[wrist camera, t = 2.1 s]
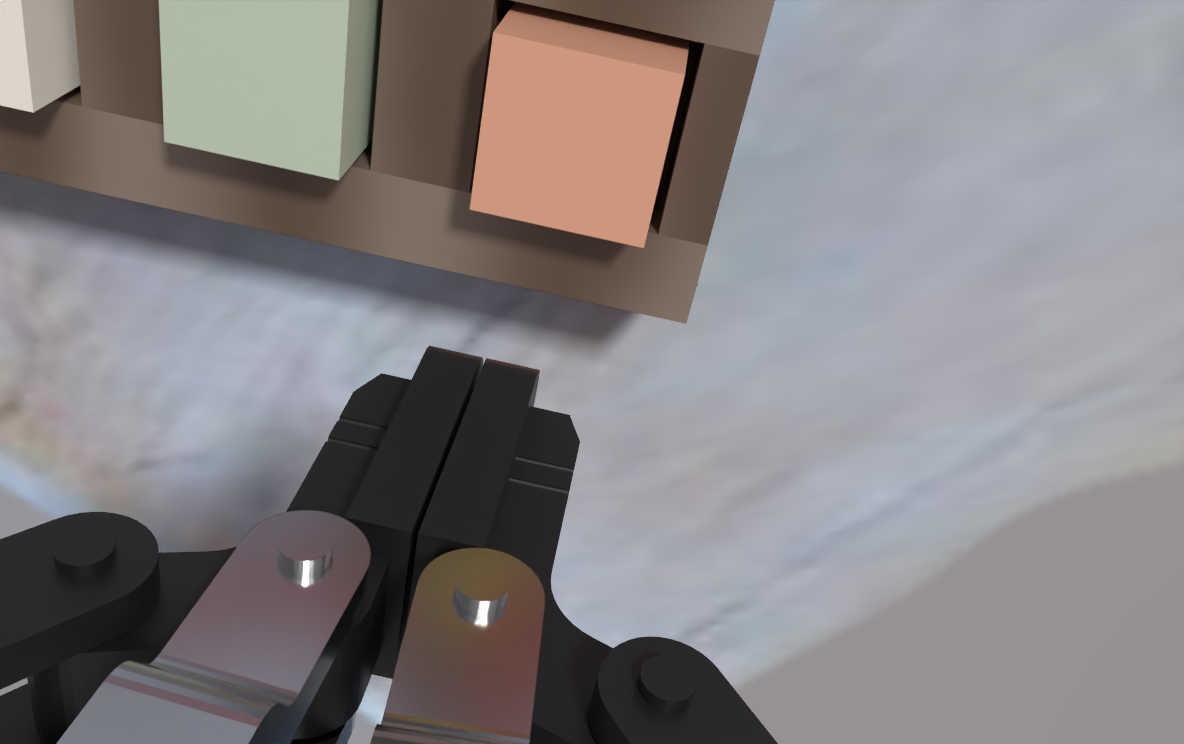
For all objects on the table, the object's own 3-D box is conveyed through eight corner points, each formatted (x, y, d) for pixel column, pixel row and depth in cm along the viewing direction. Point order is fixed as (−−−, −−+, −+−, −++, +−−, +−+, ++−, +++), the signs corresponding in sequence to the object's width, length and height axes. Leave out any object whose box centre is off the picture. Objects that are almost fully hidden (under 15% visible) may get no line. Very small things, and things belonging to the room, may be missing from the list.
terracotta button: (495, 160, 26) (469, 209, 24) (518, -3, 24) (493, 31, 22) (652, 195, 26) (644, 248, 24) (690, 36, 24) (685, 74, 22)
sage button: (219, 99, 26) (164, 141, 24) (217, -70, 24) (157, -43, 22) (376, 134, 26) (338, 180, 24) (389, -32, 24) (349, 0, 22)
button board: (-41, 90, 30) (-140, 140, 26) (-95, -280, 25) (-225, -277, 21) (691, 253, 30) (686, 323, 26) (781, -85, 25) (788, -51, 22)
